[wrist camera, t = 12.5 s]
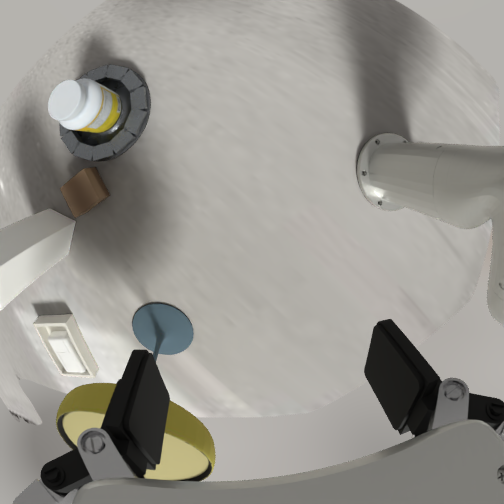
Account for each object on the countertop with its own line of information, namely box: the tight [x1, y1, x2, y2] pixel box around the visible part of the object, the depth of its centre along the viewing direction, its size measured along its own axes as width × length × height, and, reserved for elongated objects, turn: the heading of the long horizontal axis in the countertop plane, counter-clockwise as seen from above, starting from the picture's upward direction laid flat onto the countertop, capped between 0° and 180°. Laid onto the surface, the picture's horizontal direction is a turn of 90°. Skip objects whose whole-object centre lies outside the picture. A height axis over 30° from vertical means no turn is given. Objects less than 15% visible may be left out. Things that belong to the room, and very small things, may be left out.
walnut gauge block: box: [60, 167, 110, 218], centre depth 32 cm, size 5×5×4 cm
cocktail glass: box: [56, 304, 215, 482], centre depth 31 cm, size 18×18×25 cm
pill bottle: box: [48, 78, 123, 133], centre depth 25 cm, size 6×6×12 cm
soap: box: [48, 331, 86, 373], centre depth 41 cm, size 9×6×3 cm, turn 8°
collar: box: [59, 64, 151, 161], centre depth 30 cm, size 15×15×2 cm
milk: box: [0, 208, 76, 310], centre depth 25 cm, size 6×6×22 cm
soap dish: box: [33, 314, 99, 378], centre depth 41 cm, size 9×13×3 cm
